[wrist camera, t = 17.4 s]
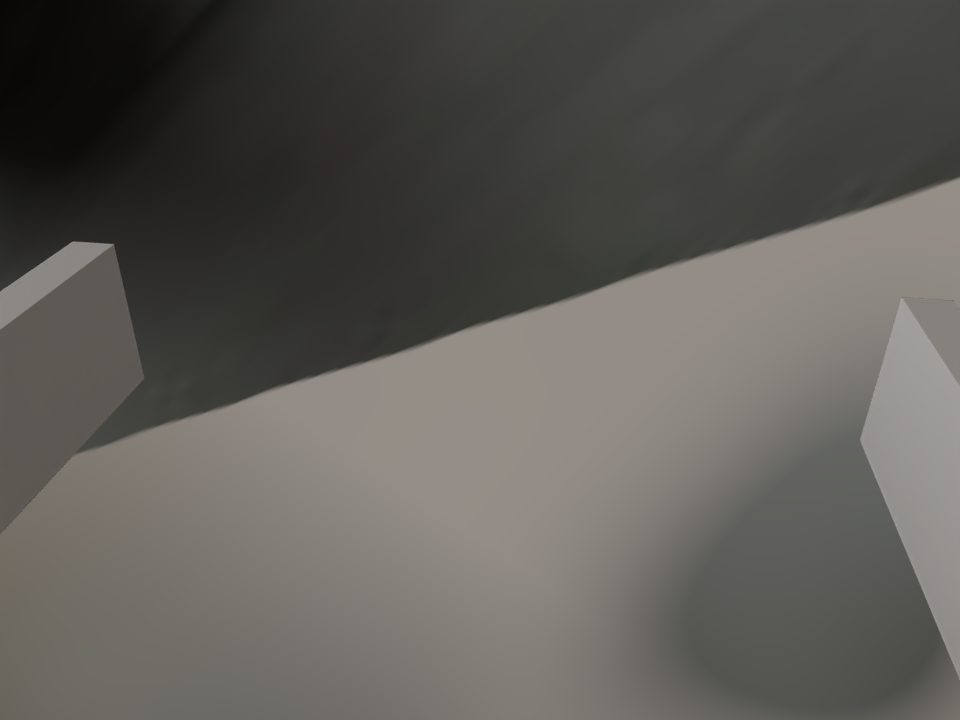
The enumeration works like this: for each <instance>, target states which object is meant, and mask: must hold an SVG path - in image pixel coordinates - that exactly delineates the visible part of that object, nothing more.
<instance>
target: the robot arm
mask: <svg viewBox="0 0 960 720" xmlns="http://www.w3.org/2000/svg"><path fill="white" fill-rule="evenodd" d="M143 379H144V375H143V371H142V366H141V362H140V358H139V353H138V349H137V344H136V340H135V335H134V331H133V327H132V322H131V318H130V313H129V309H128V305H127V300H126V296H125V291H124V287H123V283H122V278H121V274H120V269H119V265H118V261H117V256H116V252H115V247H114V244H102V243H88V242H71V243H70V244H69V245H67V246H66V247H64V248H63V249H61V250H60V251H58V252H57V253H55V254H54V255H53V256H51V257H50V258H48V259H47V260H45V261H44V262H42V263H41V264H40V265H38V266H37V267H35V268H34V269H32V270H31V271H29V272H28V273H27V274H25V275H24V276H22V277H21V278H19V279H18V280H16V281H15V282H14V283H12V284H11V285H9V286H8V287H6V288H5V289H3V290H2V291H1V292H0V534H1V533H2V532H3V531H4V530H5V529H6V528H7V527H8V525H9V524H10V523H11V522H12V521H13V520H14V519H15V518H16V517H17V516H18V515H19V514H20V513H21V511H22V510H23V509H24V508H25V507H26V506H27V505H28V504H29V503H30V502H31V501H32V499H33V498H34V497H35V496H36V495H37V494H38V493H39V492H40V491H41V490H42V489H43V488H44V486H45V485H46V484H47V483H48V482H49V481H50V480H51V479H52V478H53V477H54V476H55V475H56V474H57V472H58V471H59V470H60V469H61V468H62V467H63V466H64V465H65V464H66V463H67V461H68V460H69V459H70V458H71V457H72V456H73V455H74V454H75V453H76V452H77V451H78V450H79V449H80V448H81V446H82V445H83V444H84V443H85V442H86V441H87V440H88V439H89V438H90V437H91V436H92V435H93V433H94V432H95V431H96V430H97V429H98V428H99V427H100V426H101V425H102V424H103V423H104V422H105V420H106V419H107V418H108V417H109V416H110V415H111V414H112V413H113V412H114V411H115V410H116V409H117V407H118V406H119V405H120V404H121V403H122V402H123V401H124V400H125V399H126V398H127V397H128V396H129V394H130V393H131V392H132V391H133V390H134V389H135V388H136V387H137V386H138V385H139V384H140V383H141V381H142V380H143ZM860 442H861V444H862V447H863V449H864V451H865V454H866V456H867V458H868V461H869V463H870V466H871V468H872V471H873V473H874V475H875V478H876V480H877V482H878V485H879V487H880V490H881V492H882V494H883V497H884V499H885V502H886V504H887V506H888V509H889V511H890V514H891V516H892V519H893V521H894V523H895V526H896V528H897V531H898V533H899V535H900V538H901V540H902V542H903V545H904V547H905V550H906V552H907V554H908V557H909V559H910V562H911V564H912V566H913V569H914V571H915V574H916V576H917V578H918V581H919V583H920V586H921V588H922V590H923V593H924V595H925V598H926V600H927V602H928V605H929V607H930V609H931V612H932V614H933V617H934V619H935V622H936V624H937V626H938V629H939V631H940V634H941V636H942V638H943V641H944V643H945V646H946V648H947V650H948V653H949V655H950V658H951V660H952V662H953V665H954V667H955V669H956V672H957V674H958V677H959V679H960V309H959V307H958V306H957V305H956V303H955V302H954V301H953V300H938V299H923V298H907V297H902V298H901V301H900V305H899V308H898V311H897V315H896V318H895V322H894V325H893V328H892V332H891V335H890V339H889V342H888V346H887V350H886V352H885V356H884V359H883V363H882V367H881V370H880V373H879V376H878V380H877V383H876V387H875V390H874V394H873V397H872V400H871V404H870V407H869V411H868V414H867V418H866V421H865V424H864V428H863V431H862V435H861V438H860Z"/></svg>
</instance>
